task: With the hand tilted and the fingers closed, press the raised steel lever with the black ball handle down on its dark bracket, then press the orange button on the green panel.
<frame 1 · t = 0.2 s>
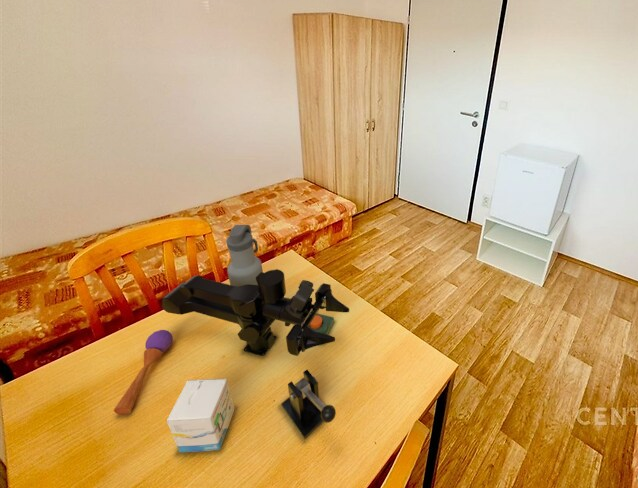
hand: (342, 324, 79), 17 cm above the table, tool horizontal, fingers open, 9 cm apart
button: (315, 322, 94), point 4 cm above the table, slide at 0.1 cm
lever: (315, 400, 68), point 10 cm above the table, hinge at 15.0°
ink box: (208, 430, 71), on the table
bracket: (305, 411, 76), on the table
button panel: (313, 328, 97), on the table
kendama: (148, 374, 82), on the table
water bottle: (251, 300, 106), on the table
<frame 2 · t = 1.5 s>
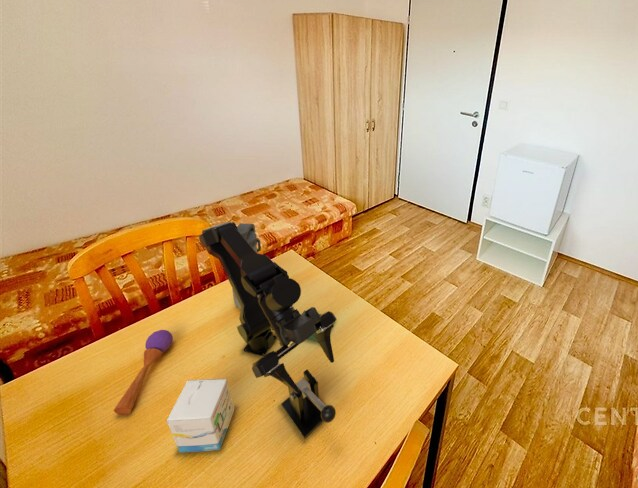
hand: (316, 376, 69), 15 cm above the table, tool tilted 50°, fingers open, 9 cm apart
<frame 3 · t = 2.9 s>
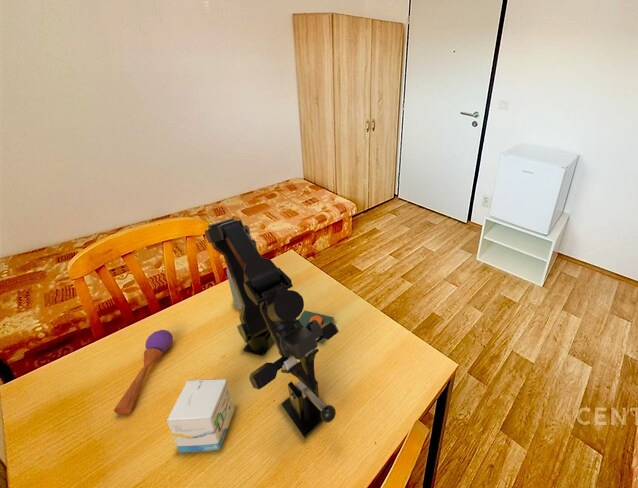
hand: (314, 390, 67), 14 cm above the table, tool tilted 45°, fingers closed
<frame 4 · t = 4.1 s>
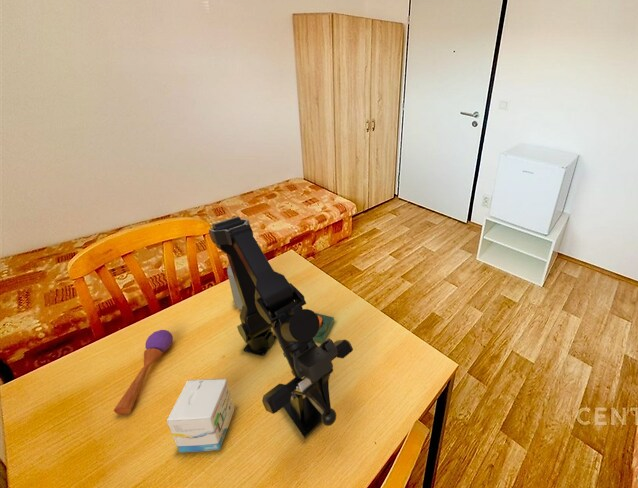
hand: (328, 411, 65), 12 cm above the table, tool tilted 45°, fingers closed, pressing on lever
lever: (315, 401, 69), point 10 cm above the table, hinge at 9.7°, touching gripper
everything else where it was.
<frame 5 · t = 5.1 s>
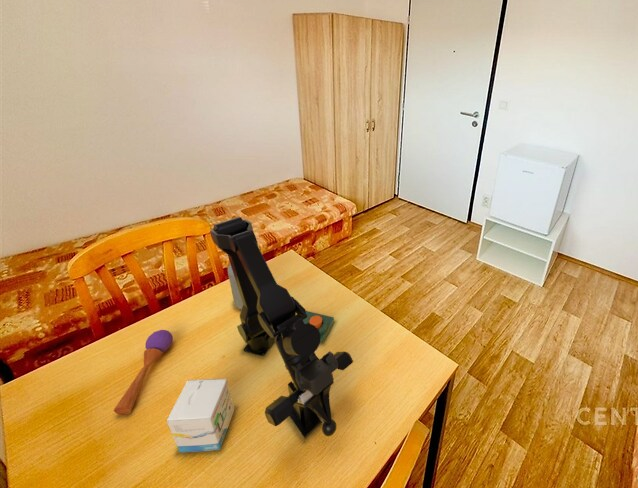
hand: (329, 422, 66), 8 cm above the table, tool tilted 45°, fingers closed, pressing on lever
lever: (316, 407, 70), point 8 cm above the table, hinge at -13.2°, touching gripper
everything else where it was.
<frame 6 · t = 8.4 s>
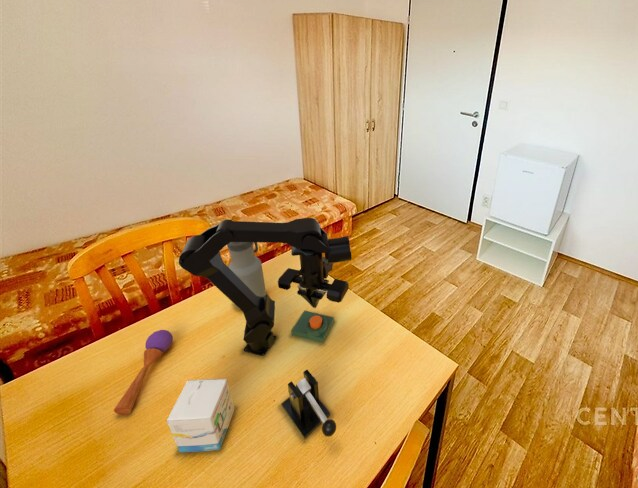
hand: (315, 306, 91), 11 cm above the table, tool pointing down, fingers closed
lever: (315, 407, 70), point 8 cm above the table, hinge at -14.7°
everything else where it was.
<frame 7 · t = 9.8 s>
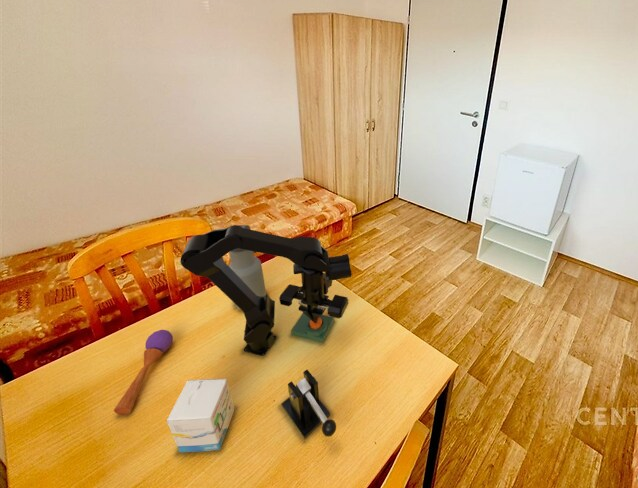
hand: (315, 321, 94), 5 cm above the table, tool pointing down, fingers closed, pressing on button
button: (315, 323, 94), point 4 cm above the table, slide at -0.5 cm, touching gripper
everything else where it was.
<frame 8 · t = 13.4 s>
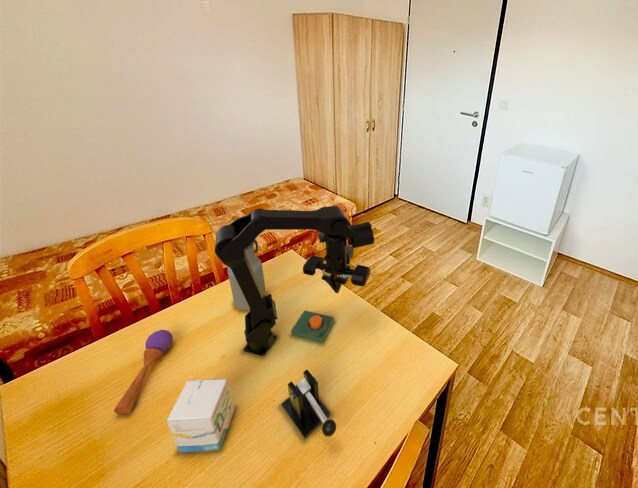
hand: (337, 292, 95), 12 cm above the table, tool pointing down, fingers closed
button: (315, 322, 94), point 4 cm above the table, slide at 0.1 cm
everything else where it was.
at the end: lever at -15° (first picture: +15°); button pushed in 1.2 cm at the most during the clip, back to where it started at the end; button slide at 0.1 cm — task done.
